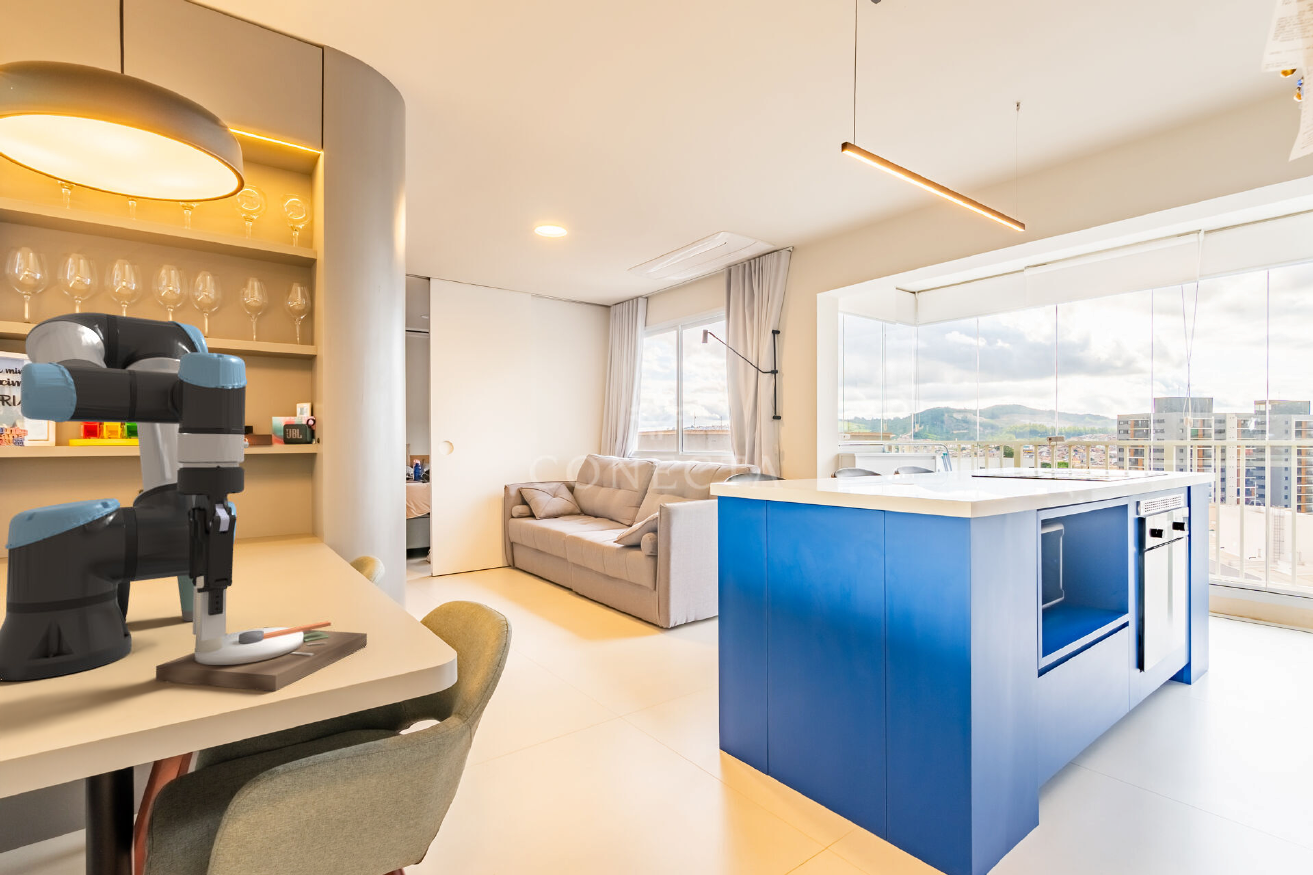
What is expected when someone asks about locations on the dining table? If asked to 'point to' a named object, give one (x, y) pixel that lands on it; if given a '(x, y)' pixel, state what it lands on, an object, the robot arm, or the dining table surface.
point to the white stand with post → (247, 641)
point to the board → (267, 664)
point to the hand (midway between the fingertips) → (209, 634)
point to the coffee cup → (186, 596)
